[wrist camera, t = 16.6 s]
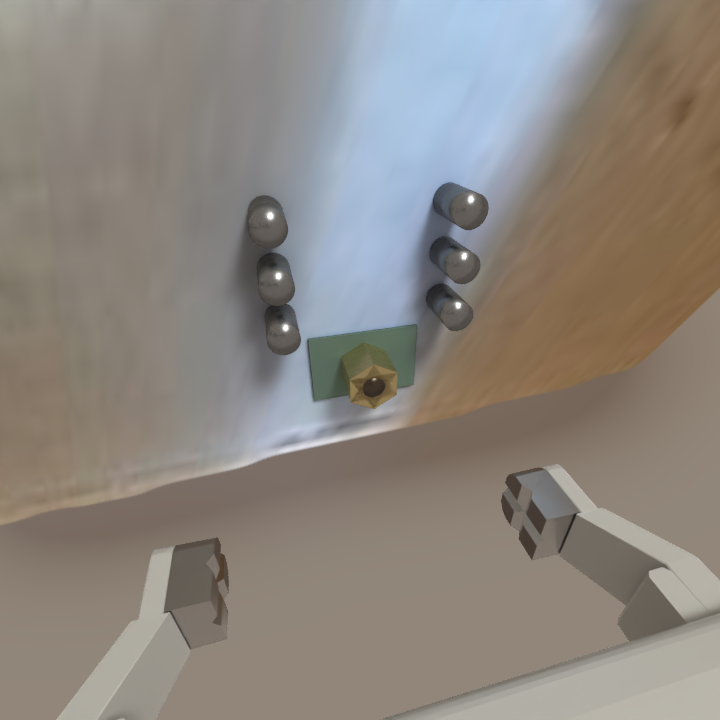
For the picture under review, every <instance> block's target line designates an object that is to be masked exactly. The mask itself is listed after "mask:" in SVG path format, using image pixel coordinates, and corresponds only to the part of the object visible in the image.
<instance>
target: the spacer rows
mask: <svg viewBox="0 0 720 720" xmlns="http://www.w3.org/2000/svg"><path fill="white" fill-rule="evenodd" d="M433 206H434V209H435V211H436V212H437V213H438V214H440V215H441V216H443V217H445V218H446V219H448V220H449V221H451V222H453V223H454V224H456V225H457V226H459V227H461V228H462V229H465V230H472V229H475V228H477V227H478V226H480V225H481V224H482V223H483V222H484V220H485V218H486V216H487V214H488V202H487V200H486V198H485V197H484V196H483V195H481V194H479V193H477V192H474V191H472V190H469V189H467V188H465V187H462V186H460V185H458V184H455V183H446V184H443V185H442V186H441V187H439V188H438V190H437V191H436V193H435V195H434V198H433ZM248 231H249V235H250V237H251V239H252V240H253V241H254V242H255V243H256V244H257V245H259V246H261V247H263V248H275V247H277V246H279V245H281V244H282V243H283V242H284V240H285V239H286V237H287V234H288V226H287V222H286V219H285V216H284V213H283V210H282V207H281V205H280V203H279V202H278V201H277V200H276V199H274V198H273V197H270V196H259V197H256V198H255V199H254V200H252V202H251V203H250V205H249V208H248ZM429 256H430V259H431V261H432V262H433V263H434V264H435V265H436V266H437V267H438V268H439V269H440V270H441V271H443V272H444V273H445V274H446V275H447V276H448V277H449V278H450V279H451V280H453V281H454V282H455V283H457V284H466V283H468V282H470V281H472V280H473V279H474V278H475V277H476V276H477V274H478V272H479V270H480V260H479V258H478V257H477V255H475V254H474V253H472V252H471V251H470V250H468V249H467V248H465V247H464V246H462V245H461V244H460V243H458V242H457V241H455V240H454V239H452V238H451V237H441V238H439V239H437V240H436V241H435V242H434V243H433V244H432V246H431V248H430V252H429ZM257 275H258V290H259V294H260V297H261V298H262V299H263V300H264V301H265V302H266V303H268V304H270V305H271V306H270V307H269V308H268V309H267V311H266V313H265V322H266V333H267V344H268V347H269V348H270V349H271V350H272V351H273V352H274V353H276V354H279V355H288V354H291V353H293V352H294V351H296V350H297V349H298V347H299V346H300V343H301V337H300V333H299V328H298V324H297V320H296V315H295V311H294V309H293V308H292V307H291V306H290V305H288V304H286V303H288V302H289V301H290V300H291V299H292V297H293V296H294V292H295V286H294V282H293V278H292V274H291V270H290V266H289V263H288V261H287V260H286V258H285V257H283V256H282V255H280V254H277V253H269V254H266V255H264V256H263V257H262V258H261V259H260V260H259V262H258V264H257ZM426 302H427V305H428V306H429V307H430V309H431V310H432V311H433V312H434V313H435V314H436V316H437V317H438V318H439V319H440V320H441V321H442V322H443V324H444V325H445V326H446V327H447V328H448V329H449V330H451V331H459V330H462V329H464V328H466V327H467V326H468V325H469V324H470V322H471V321H472V318H473V310H472V308H471V307H470V306H469V305H468V304H467V303H466V302H465V301H464V300H463V299H462V298H461V297H460V296H459V295H458V294H457V293H456V292H454V291H453V290H452V289H451V288H450V287H449V286H448V285H446V284H438V285H435V286H434V287H432V288H431V289H430V290H429V292H428V294H427V296H426Z"/></svg>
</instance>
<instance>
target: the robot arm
mask: <svg viewBox="0 0 720 720" xmlns="http://www.w3.org/2000/svg"><path fill="white" fill-rule="evenodd" d="M505 483H506V485H507V486H508V488H507V489H506V490H505V491H504V492H503V494H502V499H501V503H502V510H503V512H504V515H505V517H506V519H507V521H508V522H509V524H510V526H512V527H514V528H515V529H517V530H519V540H520V542H521V544H522V545H523V547H524V548H525V550H526V552H527V553H528V555H529V556H530V558H531V560H535V559H539V558H544V557H549V556H553V555H557V554H560V557H562V558H563V559H564V560H566V561H567V562H568V563H570V564H571V565H572V566H574V567H575V568H576V569H578V570H579V571H580V572H582V573H583V574H584V575H586V576H587V577H588V578H590V579H591V580H592V581H594V582H595V583H597V584H598V585H599V586H600V587H602V588H603V589H604V590H606V591H607V592H609V593H610V594H611V595H613V596H614V597H615V598H617V599H618V600H619V601H621V602H622V603H623V604H625V605H626V607H625V609H624V610H623V612H622V613H621V615H620V617H619V619H618V625H619V627H620V628H621V630H622V631H623V632H624V634H625V636H626V637H627V638H628V640H629V642H626V643H623V644H620V645H616V646H613V647H610V648H607V649H604V650H601V651H597V652H594V653H591V654H588V655H585V656H581V657H578V658H575V659H572V660H568V661H565V662H562V663H559V664H556V665H553V666H550V667H546V668H543V669H540V670H537V671H533V672H530V673H527V674H524V675H521V676H518V677H514V678H511V679H508V680H505V681H502V682H498V683H495V684H492V685H489V686H486V687H482V688H479V689H476V690H473V691H470V692H466V693H463V694H460V695H457V696H454V697H450V698H447V699H444V700H441V701H438V702H435V703H432V704H428V705H425V706H422V707H419V708H415V709H412V710H409V711H406V712H403V713H400V714H396V715H393V716H390V717H387V718H383V719H380V720H720V581H719V579H718V578H717V577H716V576H715V575H714V574H713V573H712V572H711V571H710V570H709V569H708V568H707V567H706V566H705V565H704V564H703V563H702V562H701V561H700V560H699V559H698V558H697V557H696V556H694V555H692V554H690V553H688V552H686V551H685V550H683V549H681V548H679V547H677V546H675V545H673V544H671V543H669V542H667V541H665V540H663V539H662V538H660V537H658V536H656V535H654V534H652V533H650V532H648V531H646V530H644V529H642V528H640V527H639V526H637V525H635V524H633V523H631V522H629V521H627V520H625V519H623V518H621V517H619V516H617V515H615V514H614V513H612V512H610V511H608V510H606V509H604V508H597V507H596V506H595V505H594V504H593V502H592V501H591V500H590V499H589V498H588V497H587V496H586V494H585V493H584V492H583V491H582V490H581V488H580V487H579V486H578V485H577V484H576V483H575V482H574V480H573V479H572V478H571V477H570V476H569V475H568V474H567V472H566V471H565V470H564V469H563V468H562V467H561V466H559V465H558V464H555V465H550V466H546V467H542V468H534V469H530V470H526V471H521V472H517V473H513V474H510V475H509V476H508V477H507V478H506V482H505ZM220 552H221V544H220V541H219V539H218V538H212V539H207V540H202V541H196V542H192V543H186V544H181V545H175V546H171V547H166V548H161V549H157V550H154V551H153V553H152V555H151V557H150V561H149V566H148V571H147V576H146V580H145V585H144V590H143V595H142V600H141V605H140V610H139V615H138V619H137V620H134V621H131V622H130V623H129V625H128V626H127V627H126V628H125V630H124V631H123V632H122V634H121V635H120V636H119V638H118V639H117V640H116V642H115V643H114V644H113V645H112V647H111V648H110V649H109V651H108V652H107V653H106V655H105V656H104V657H103V659H102V660H101V661H100V663H99V664H98V665H97V667H96V668H95V669H94V671H93V672H92V673H91V675H90V676H89V677H88V678H87V680H86V681H85V683H84V684H83V685H82V686H81V688H80V689H79V690H78V692H77V693H76V694H75V696H74V697H73V698H72V700H71V701H70V702H69V704H68V705H67V706H66V708H65V709H64V710H63V712H62V713H61V714H60V716H59V717H58V718H57V720H155V719H156V717H157V715H158V713H159V712H160V710H161V708H162V706H163V704H164V702H165V700H166V698H167V697H168V695H169V693H170V691H171V689H172V687H173V685H174V683H175V681H176V679H177V678H178V676H179V674H180V672H181V670H182V668H183V666H184V664H185V662H186V661H187V659H188V657H189V655H190V653H191V651H190V650H191V649H194V648H198V647H201V646H205V645H208V644H211V643H215V642H219V641H222V640H225V639H227V622H228V610H227V607H226V604H225V602H224V599H225V597H226V596H227V594H228V593H229V592H228V591H229V589H228V587H229V579H228V567H227V562H226V558H225V555H223V554H221V553H220Z"/></svg>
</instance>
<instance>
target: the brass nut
mask: <svg viewBox="0 0 720 720" xmlns="http://www.w3.org/2000/svg"><path fill="white" fill-rule="evenodd" d="M341 360H342V378H343V381H344V384H345V387H346V390H347V393H348V396H349V399H350V401H351V403H355V404H358V405H362V406H365V407H369V408H372V409H375V408H376V407H378V406H380V405H381V404H383V403H384V402H386V401H388V400H389V399H391V398H392V397H394V396H395V395H397V371H396V369H395V367H394V365H393V364H392V362H391V360H390V358H389V356H388V354H387V353H386V351H385V350H383V349H380V348H378V347H375V346H372V345H370V344H367V343H364V342H363V343H361V344H360V345H358V346H357V347H355V348H354V349H352V350H351V351H349V352H348V353H346V354H344V355H343V356H341Z"/></svg>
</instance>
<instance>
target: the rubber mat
mask: <svg viewBox="0 0 720 720" xmlns="http://www.w3.org/2000/svg"><path fill="white" fill-rule="evenodd" d="M416 335H417V325H408V326H401V327H393V328H386V329H378V330H371V331H363V332H356V333H348V334H341V335H334V336H326V337H319V338H311V339H308V345H309V354H310V364H311V373H312V383H313V392H314V400H321V399H328V398H334V397H340V396H346V395H348V393H347V390H346V387H345V384H344V381H343V378H342V360H341V356H343V355H344V354H346V353H348V352H349V351H351V350H352V349H354V348H355V347H357V346H358V345H360V344H361V343H363V342H364V343H367V344H370V345H372V346H375V347H378V348H380V349H383V350H385V351H386V353H387V354H388V356H389V358H390V360H391V362H392V364H393V365H394V367H395V369H396V371H397V387H402V386H408V385H413V384H414V368H415V351H416Z"/></svg>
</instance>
